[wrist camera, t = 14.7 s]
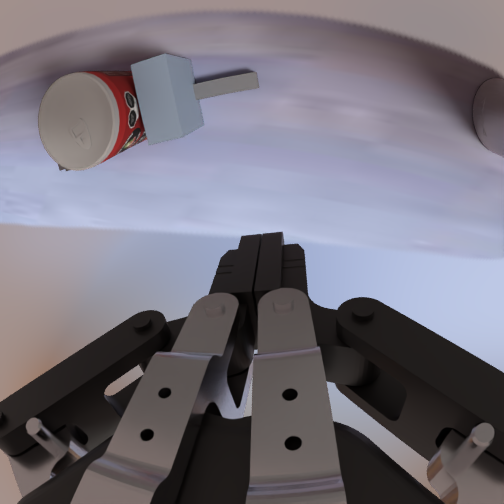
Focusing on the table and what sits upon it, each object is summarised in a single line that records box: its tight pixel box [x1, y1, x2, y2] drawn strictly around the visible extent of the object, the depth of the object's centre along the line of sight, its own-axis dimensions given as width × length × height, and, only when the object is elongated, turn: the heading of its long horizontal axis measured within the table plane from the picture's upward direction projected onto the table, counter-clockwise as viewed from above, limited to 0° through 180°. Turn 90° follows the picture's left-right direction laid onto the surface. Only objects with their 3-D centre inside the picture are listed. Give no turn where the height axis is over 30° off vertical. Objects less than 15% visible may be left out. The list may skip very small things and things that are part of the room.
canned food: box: [38, 71, 147, 171], centre depth 24 cm, size 8×8×11 cm
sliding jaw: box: [131, 54, 259, 145], centre depth 25 cm, size 9×7×8 cm
